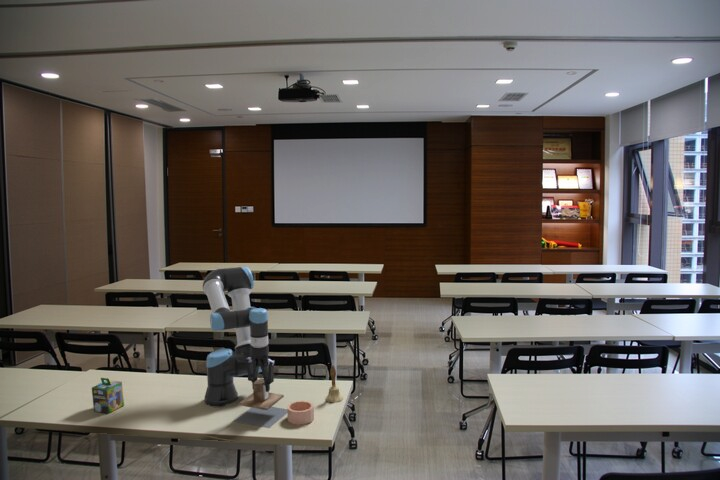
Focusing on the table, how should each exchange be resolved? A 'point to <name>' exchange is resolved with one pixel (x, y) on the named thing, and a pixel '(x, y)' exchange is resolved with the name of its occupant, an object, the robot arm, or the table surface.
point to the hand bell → (333, 389)
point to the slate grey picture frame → (262, 416)
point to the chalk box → (107, 396)
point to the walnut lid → (260, 397)
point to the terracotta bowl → (300, 412)
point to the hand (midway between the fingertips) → (261, 397)
